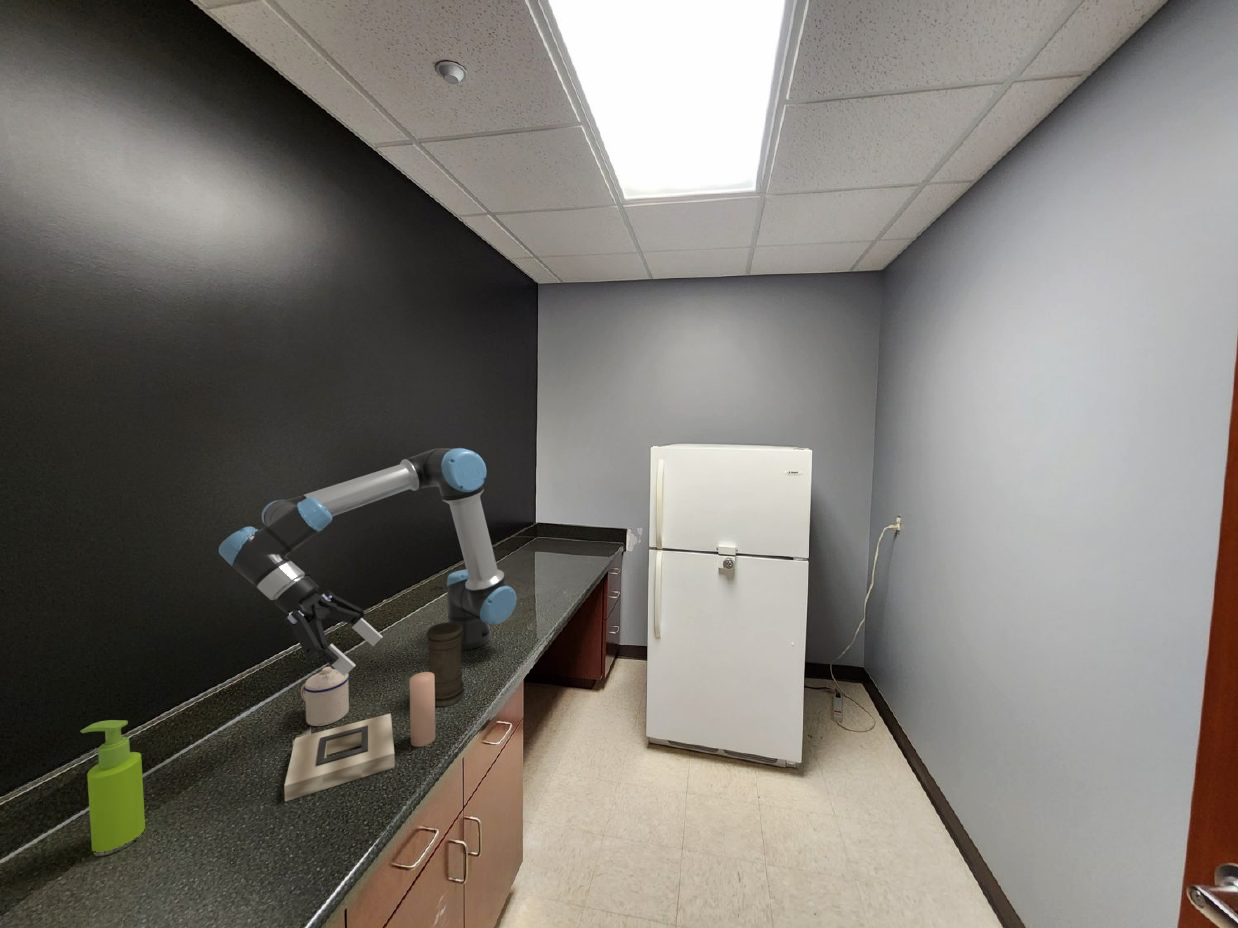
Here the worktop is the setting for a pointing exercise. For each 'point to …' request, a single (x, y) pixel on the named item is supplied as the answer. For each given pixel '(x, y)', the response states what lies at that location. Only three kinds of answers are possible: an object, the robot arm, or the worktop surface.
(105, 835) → the soap dispenser
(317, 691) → the teacup with lid
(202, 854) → the worktop surface
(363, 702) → the worktop surface
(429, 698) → the peg
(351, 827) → the worktop surface
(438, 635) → the container
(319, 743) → the band board
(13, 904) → the worktop surface
